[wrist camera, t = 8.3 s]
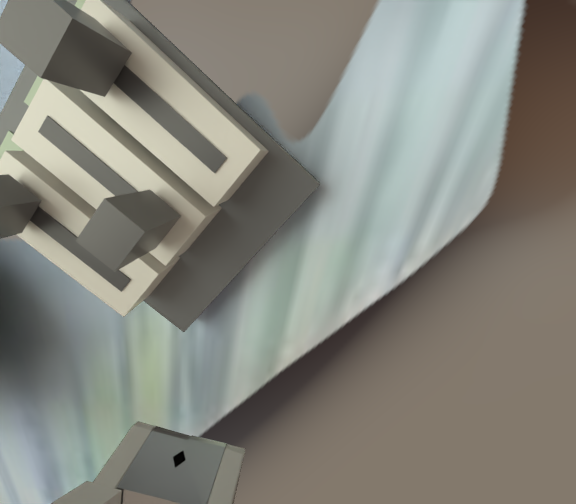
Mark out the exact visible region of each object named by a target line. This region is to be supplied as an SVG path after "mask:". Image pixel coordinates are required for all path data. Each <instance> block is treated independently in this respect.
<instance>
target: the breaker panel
mask: <svg viewBox="0 0 576 504" xmlns="http://www.w3.org/2000/svg"><path fill="white" fill-rule="evenodd" d="M67 1H68V2H70V3H71V4H73V5H74V6H76V7H77V8H79V9H81V10H82V11H84V12H85V13H87V14H88V15H90V16H92V17H93V18H95V19H96V20H97V21H98V22H99V23H100V24H101V25H102V26H104V27H105V28H106V29H107V30H108V31H109V32H110V33H111V34H112V35H113V36H114V37H116V38H117V39H118V40H119V41H120V42H121V43H122V44H123V45H124V46H125V47H126V48H127V49H129V50H130V51H131V52H132V54H131V55H130V57H129V59H128V60H127V62H126V64H125V65H124V67H123V68H122V70H121V72H120V73H119V75H118V77H117V78H116V80H115V82H114V83H113V85H112V86H111V88H110V90H109V91H108V93H107V95H106V96H105V97H103V96H100V95H97V94H93V93H90V92H86V91H83V90H80V89H76V88H73V87H69V86H66V85H63V84H59V83H56V82H52V81H49V80H46V79H42V78H40V77H39V76H38V75H36V74H35V73H34V72H33V71H32V70H31V69H29V68H28V67H27V66H26V65H25V67H24V69H23V71H22V73H21V74H20V76H19V78H18V80H17V82H16V84H15V86H14V88H13V90H12V92H11V94H10V96H9V98H8V100H7V102H6V104H5V106H4V108H3V110H2V112H1V114H0V175H7V174H9V175H10V176H12V177H13V178H14V179H15V180H17V181H18V182H19V183H20V184H22V185H23V186H24V187H25V188H27V189H28V190H29V191H30V192H32V193H33V194H34V195H35V196H37V197H38V198H39V199H40V200H42V201H41V203H40V204H39V206H38V208H37V209H36V211H35V212H34V214H33V216H32V217H31V219H30V221H29V222H28V224H27V226H26V227H25V229H24V230H23V232H22V233H20V234H16V235H17V236H18V237H20V238H21V239H22V240H24V241H25V242H26V243H28V244H29V245H30V246H32V247H33V248H34V249H35V250H37V251H38V252H39V253H41V254H42V255H43V256H45V257H46V258H47V259H48V260H50V261H51V262H52V263H54V264H55V265H56V266H58V267H59V268H60V269H62V270H63V271H64V272H65V273H67V274H68V275H69V276H71V277H72V278H73V279H75V280H76V281H77V282H79V283H80V284H81V285H82V286H84V287H85V288H86V289H88V290H89V291H90V292H92V293H93V294H94V295H95V296H97V297H98V298H99V299H101V300H102V301H103V302H105V303H106V304H107V305H109V306H110V307H111V308H112V309H114V310H115V311H116V312H118V313H119V314H120V315H122V316H123V317H124V316H125V315H127V314H128V313H129V312H130V311H131V310H133V309H134V308H135V307H136V306H137V305H139V304H140V303H141V302H142V301H145V302H146V303H147V304H148V305H150V306H151V307H152V308H153V309H155V310H156V311H157V312H159V313H160V314H161V315H162V316H164V317H165V318H166V319H167V320H169V321H170V322H171V323H173V324H174V325H175V326H176V327H178V328H179V329H180V330H182V331H183V332H185V330H186V329H187V328H188V327H189V326H190V325H191V324H192V323H193V322H194V321H195V320H196V319H197V317H198V316H199V315H200V314H201V313H202V312H203V311H204V310H205V309H206V308H207V307H208V306H209V304H210V303H211V302H212V301H213V300H214V299H215V298H216V297H217V296H218V295H219V294H220V292H221V291H222V290H223V289H224V288H225V287H226V286H227V285H228V284H229V283H230V282H231V281H232V279H233V278H234V277H235V276H236V275H237V274H238V273H239V272H240V271H241V270H242V269H243V267H244V266H245V265H246V264H247V263H248V262H249V261H250V260H251V259H252V258H253V257H254V256H255V254H256V253H257V252H258V251H259V250H260V249H261V248H262V247H263V246H264V245H265V244H266V242H267V241H268V240H269V239H270V238H271V237H272V236H273V235H274V234H275V233H276V232H277V231H278V229H279V228H280V227H281V226H282V225H283V224H284V223H285V222H286V221H287V220H288V219H289V218H290V216H291V215H292V214H293V213H294V212H295V211H296V210H297V209H298V208H299V207H300V206H301V204H302V203H303V202H304V201H305V200H306V199H307V198H308V197H309V196H310V195H311V194H312V193H313V191H314V190H315V189H316V188H317V187H318V186H319V185H320V184H319V182H318V181H317V180H316V179H315V178H314V177H313V176H312V175H311V174H310V173H309V172H308V171H307V170H306V169H305V168H304V167H302V166H301V165H300V164H299V163H298V162H297V161H296V160H295V159H294V158H293V157H292V156H291V155H290V154H289V153H288V152H287V151H286V150H284V149H283V148H282V147H281V146H280V145H279V144H278V143H277V142H276V141H275V140H274V139H273V138H272V137H271V136H270V135H269V134H268V133H267V132H265V131H264V130H263V129H262V128H261V127H260V126H259V125H258V124H257V123H256V122H255V121H254V120H253V119H252V118H251V117H250V116H249V115H248V114H246V113H245V112H244V111H243V110H242V109H241V108H240V107H239V106H238V105H237V104H236V103H235V102H234V101H233V100H232V99H231V98H229V97H228V96H227V95H226V94H225V93H224V92H223V91H222V90H221V89H220V88H219V87H218V86H217V85H216V84H215V83H214V82H213V81H212V80H211V79H210V78H208V77H207V76H206V75H205V74H204V73H203V72H202V71H201V70H200V69H199V68H198V67H197V66H196V65H195V64H194V63H192V62H191V61H190V60H189V59H188V58H187V57H186V56H185V55H184V54H183V53H182V52H181V51H180V50H179V49H178V48H177V47H176V46H174V44H173V43H171V42H170V41H169V40H168V39H167V38H166V37H165V36H164V35H163V34H162V33H161V32H160V31H159V30H158V29H157V28H155V26H153V25H152V24H151V23H150V22H149V21H148V20H147V19H146V18H145V17H144V16H143V15H142V14H141V13H140V12H139V11H138V10H137V9H135V8H134V7H133V6H132V5H131V4H130V3H129V2H128V1H127V0H67ZM145 190H151V191H153V192H154V193H155V194H156V195H157V196H158V197H160V198H161V199H162V200H163V201H164V202H166V203H167V204H168V205H169V206H170V207H171V208H173V209H174V210H175V211H176V212H177V213H178V214H180V215H181V217H180V218H179V219H178V221H177V222H176V223H175V224H174V226H173V227H172V228H171V230H170V231H169V232H168V233H167V235H166V236H165V237H164V238H163V240H162V241H161V242H160V243H159V245H158V246H157V247H156V248H155V249H154V250H152V251H150V252H148V253H147V254H145V255H143V256H141V257H140V258H138V259H136V260H134V261H133V262H131V263H129V264H128V265H126V266H124V267H122V268H121V269H119V270H117V271H115V272H114V271H113V270H111V269H110V268H109V267H108V266H106V265H105V264H104V263H103V262H101V261H100V260H99V259H98V258H96V257H95V256H94V255H92V254H91V253H90V252H89V251H87V250H86V249H85V248H84V247H82V246H81V245H80V244H78V243H77V242H76V239H77V238H78V236H79V235H80V233H81V232H82V230H83V229H84V227H85V226H86V225H87V223H88V222H89V220H90V219H91V217H92V216H93V214H94V213H95V211H96V210H97V208H98V207H99V206H100V204H101V203H102V201H103V200H104V198H109V197H114V196H119V195H124V194H129V193H135V192H140V191H145Z"/></svg>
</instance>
